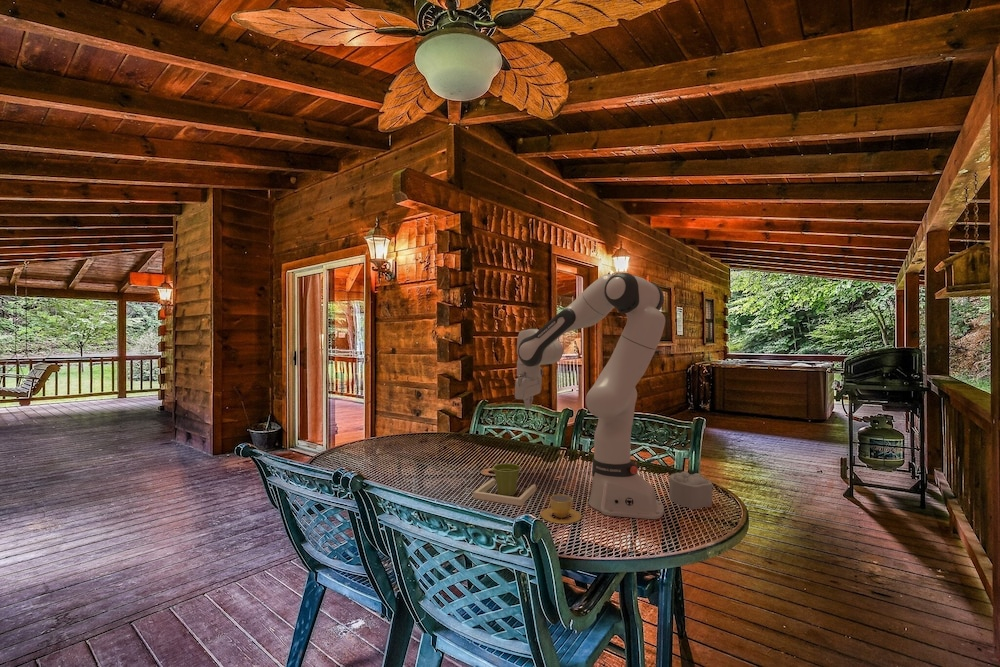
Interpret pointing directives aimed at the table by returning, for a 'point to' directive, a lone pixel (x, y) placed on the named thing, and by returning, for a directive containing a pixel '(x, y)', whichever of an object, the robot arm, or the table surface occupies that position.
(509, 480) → the plant pot
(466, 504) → the table surface
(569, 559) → the table surface
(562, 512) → the cup
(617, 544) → the table surface
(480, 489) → the frame
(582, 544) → the table surface
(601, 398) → the robot arm
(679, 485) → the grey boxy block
